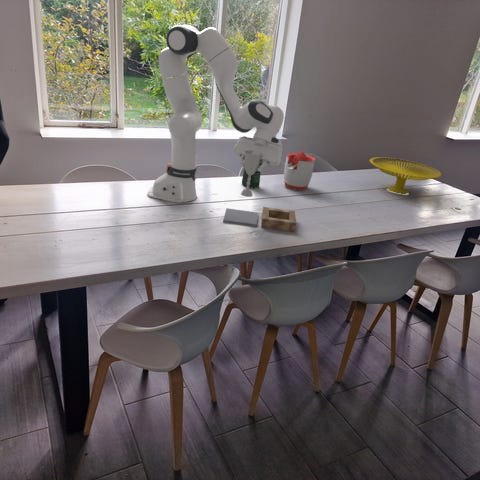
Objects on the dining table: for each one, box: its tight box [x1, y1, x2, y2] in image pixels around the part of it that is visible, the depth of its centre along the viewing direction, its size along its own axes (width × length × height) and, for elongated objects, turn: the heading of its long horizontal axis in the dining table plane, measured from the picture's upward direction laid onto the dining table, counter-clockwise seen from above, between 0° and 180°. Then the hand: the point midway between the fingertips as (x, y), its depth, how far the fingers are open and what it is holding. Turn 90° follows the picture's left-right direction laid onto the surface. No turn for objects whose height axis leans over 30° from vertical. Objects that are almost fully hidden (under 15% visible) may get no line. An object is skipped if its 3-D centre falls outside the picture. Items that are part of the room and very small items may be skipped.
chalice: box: [240, 150, 262, 198], centre depth 176 cm, size 7×7×18 cm
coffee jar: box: [241, 162, 263, 189], centre depth 223 cm, size 10×8×19 cm
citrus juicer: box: [283, 150, 316, 191], centre depth 230 cm, size 16×17×20 cm
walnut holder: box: [260, 206, 297, 233], centre depth 183 cm, size 14×14×4 cm
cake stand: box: [369, 156, 442, 194], centre depth 248 cm, size 40×40×15 cm
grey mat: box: [222, 207, 259, 228], centre depth 184 cm, size 14×14×1 cm
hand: (250, 168), depth 174 cm, fingers closed on chalice, 6 cm apart
